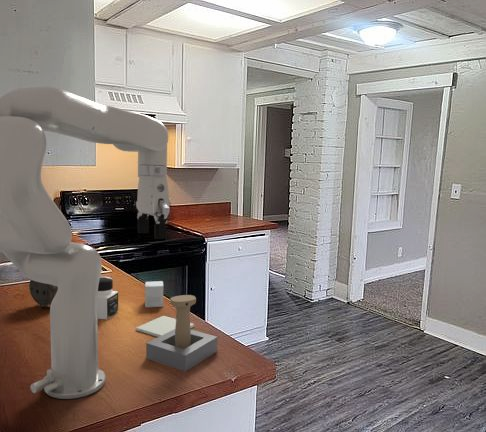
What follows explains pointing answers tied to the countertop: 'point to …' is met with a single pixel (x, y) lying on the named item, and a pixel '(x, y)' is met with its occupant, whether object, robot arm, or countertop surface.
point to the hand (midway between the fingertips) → (151, 235)
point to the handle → (183, 319)
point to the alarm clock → (42, 292)
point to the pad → (159, 326)
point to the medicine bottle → (106, 299)
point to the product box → (154, 294)
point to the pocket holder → (181, 350)
